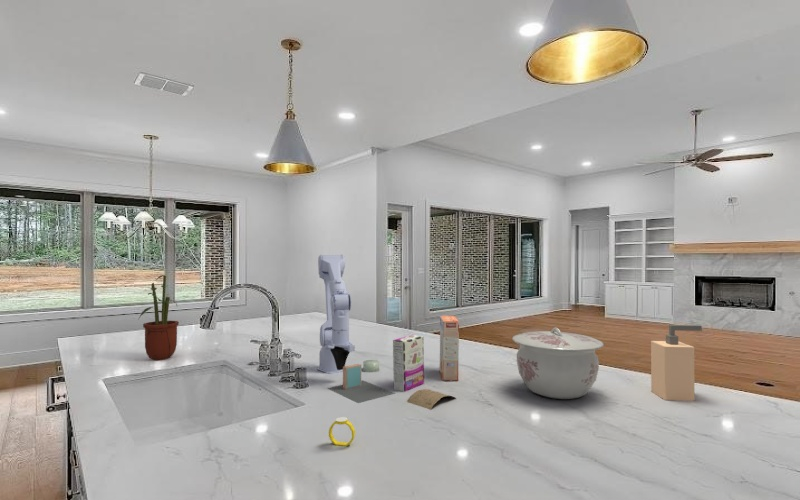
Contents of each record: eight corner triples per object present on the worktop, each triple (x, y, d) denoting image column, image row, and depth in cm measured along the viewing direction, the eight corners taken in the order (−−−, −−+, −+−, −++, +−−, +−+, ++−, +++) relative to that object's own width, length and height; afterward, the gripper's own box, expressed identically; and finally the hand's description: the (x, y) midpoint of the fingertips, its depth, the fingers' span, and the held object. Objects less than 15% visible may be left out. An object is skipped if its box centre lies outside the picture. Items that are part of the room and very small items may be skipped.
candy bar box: (412, 381, 150) (412, 334, 150) (424, 384, 147) (424, 335, 147) (392, 389, 141) (392, 339, 141) (404, 392, 138) (404, 341, 138)
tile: (342, 388, 142) (342, 366, 142) (358, 384, 146) (358, 363, 146) (346, 389, 140) (346, 367, 140) (361, 386, 144) (361, 364, 144)
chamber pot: (575, 415, 119) (574, 339, 119) (494, 390, 140) (494, 326, 141) (621, 394, 137) (620, 328, 137) (543, 375, 158) (543, 318, 158)
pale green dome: (360, 370, 164) (360, 361, 164) (373, 368, 168) (373, 359, 168) (369, 374, 160) (369, 364, 160) (382, 371, 163) (382, 362, 163)
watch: (328, 447, 100) (326, 421, 100) (332, 442, 103) (330, 416, 103) (353, 447, 99) (351, 421, 99) (356, 442, 102) (355, 416, 102)
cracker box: (459, 381, 150) (459, 320, 151) (442, 381, 151) (442, 320, 151) (455, 370, 164) (455, 315, 165) (439, 370, 165) (439, 315, 165)
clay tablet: (430, 412, 123) (430, 403, 123) (402, 404, 129) (402, 395, 129) (458, 399, 133) (458, 391, 133) (432, 392, 140) (432, 384, 140)
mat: (327, 389, 142) (327, 388, 142) (362, 381, 151) (362, 380, 151) (358, 404, 128) (358, 403, 128) (395, 394, 137) (395, 393, 137)
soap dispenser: (665, 400, 131) (664, 327, 131) (650, 391, 140) (650, 322, 140) (709, 401, 130) (709, 327, 130) (692, 392, 139) (692, 323, 139)
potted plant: (185, 357, 185) (185, 274, 185) (147, 365, 172) (147, 276, 172) (162, 352, 194) (162, 273, 194) (124, 359, 181) (125, 275, 181)
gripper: (319, 327, 152) (319, 366, 152) (341, 333, 141) (341, 375, 140) (337, 325, 156) (337, 363, 156) (359, 331, 145) (359, 372, 145)
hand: (340, 369), depth 149 cm, fingers closed
